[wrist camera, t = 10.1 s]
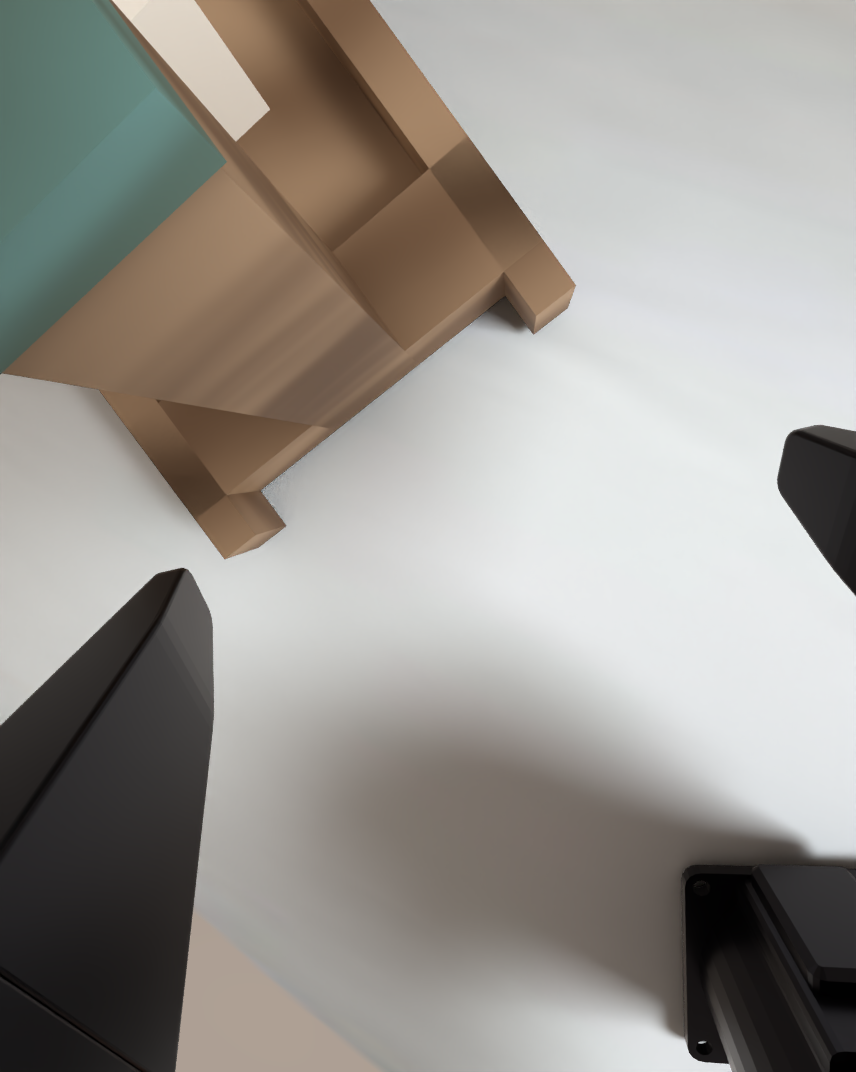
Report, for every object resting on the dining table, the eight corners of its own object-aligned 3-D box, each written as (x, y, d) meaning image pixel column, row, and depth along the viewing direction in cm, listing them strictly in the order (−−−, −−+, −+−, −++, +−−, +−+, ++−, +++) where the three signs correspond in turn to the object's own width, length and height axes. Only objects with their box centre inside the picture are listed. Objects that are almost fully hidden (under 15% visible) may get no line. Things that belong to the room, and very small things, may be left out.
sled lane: (567, 308, 18) (757, -224, 4) (258, 547, 20) (-321, 747, 6) (211, -184, 18) (-938, -2629, 4) (-64, 113, 20) (-1443, -714, 6)
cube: (270, 109, 18) (176, -27, 13) (144, 227, 19) (11, 143, 14) (164, -36, 18) (28, -229, 13) (43, 90, 18) (-128, -45, 14)
